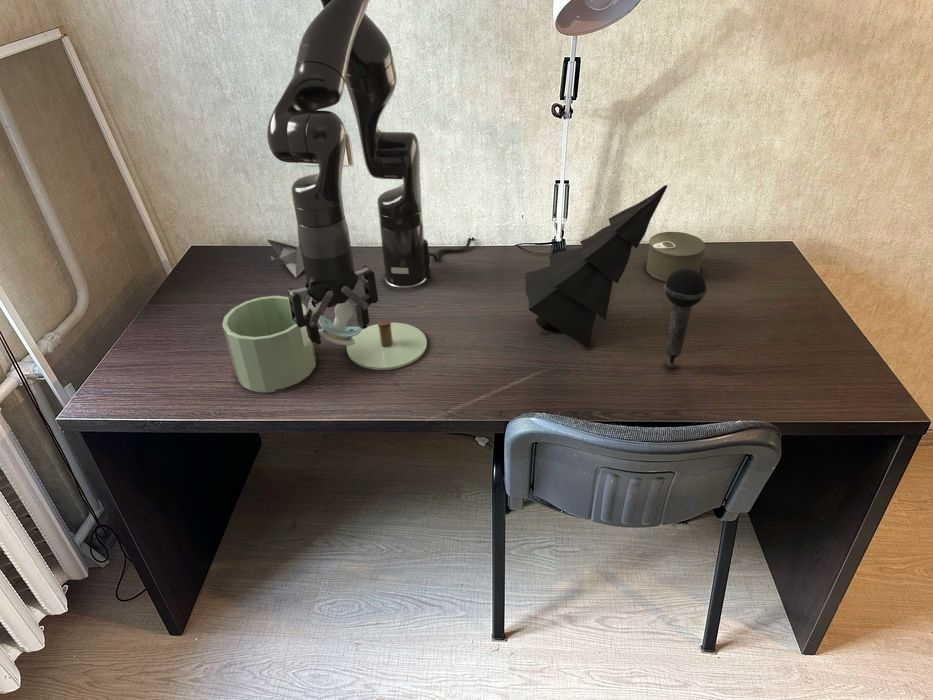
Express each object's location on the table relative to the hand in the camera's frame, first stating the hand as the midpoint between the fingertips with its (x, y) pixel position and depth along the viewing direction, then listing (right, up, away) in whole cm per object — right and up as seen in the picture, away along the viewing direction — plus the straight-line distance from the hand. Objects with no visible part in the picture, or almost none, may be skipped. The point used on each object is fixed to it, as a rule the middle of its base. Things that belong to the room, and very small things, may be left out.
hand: (340, 334), depth 111 cm
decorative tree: (+45, +2, +23) cm, 50 cm away
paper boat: (-21, +17, +48) cm, 55 cm away
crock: (-14, -6, +14) cm, 21 cm away
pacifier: (-1, -1, 0) cm, 1 cm away
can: (+68, +15, +41) cm, 81 cm away
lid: (+6, -2, +18) cm, 19 cm away
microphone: (+58, -6, +11) cm, 60 cm away
